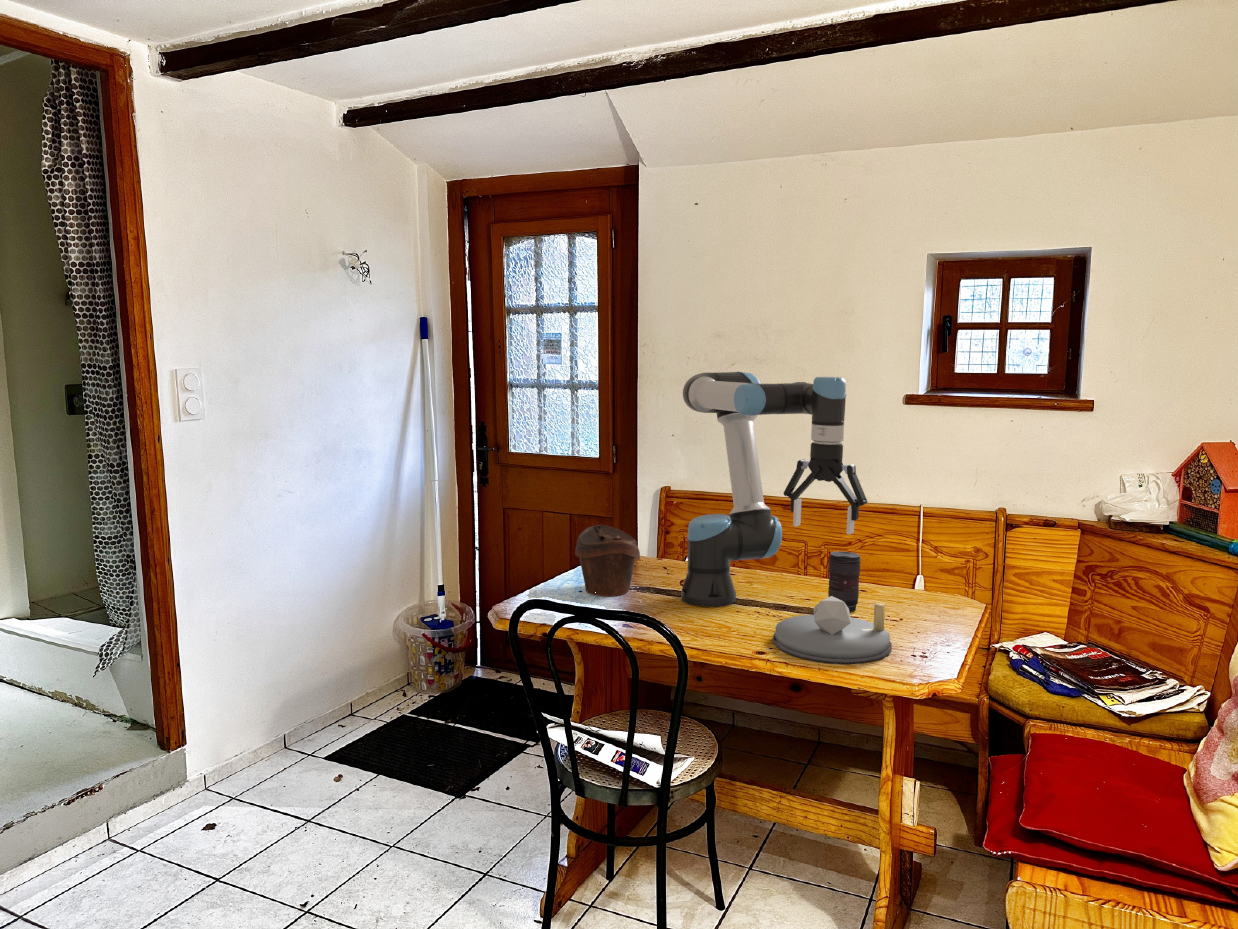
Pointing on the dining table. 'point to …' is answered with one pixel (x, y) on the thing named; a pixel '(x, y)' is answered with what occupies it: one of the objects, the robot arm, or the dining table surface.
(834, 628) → the die
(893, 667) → the dining table surface
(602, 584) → the brown tapered cup shape
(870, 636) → the turntable
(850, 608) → the camera lens
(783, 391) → the robot arm
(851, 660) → the turntable base
